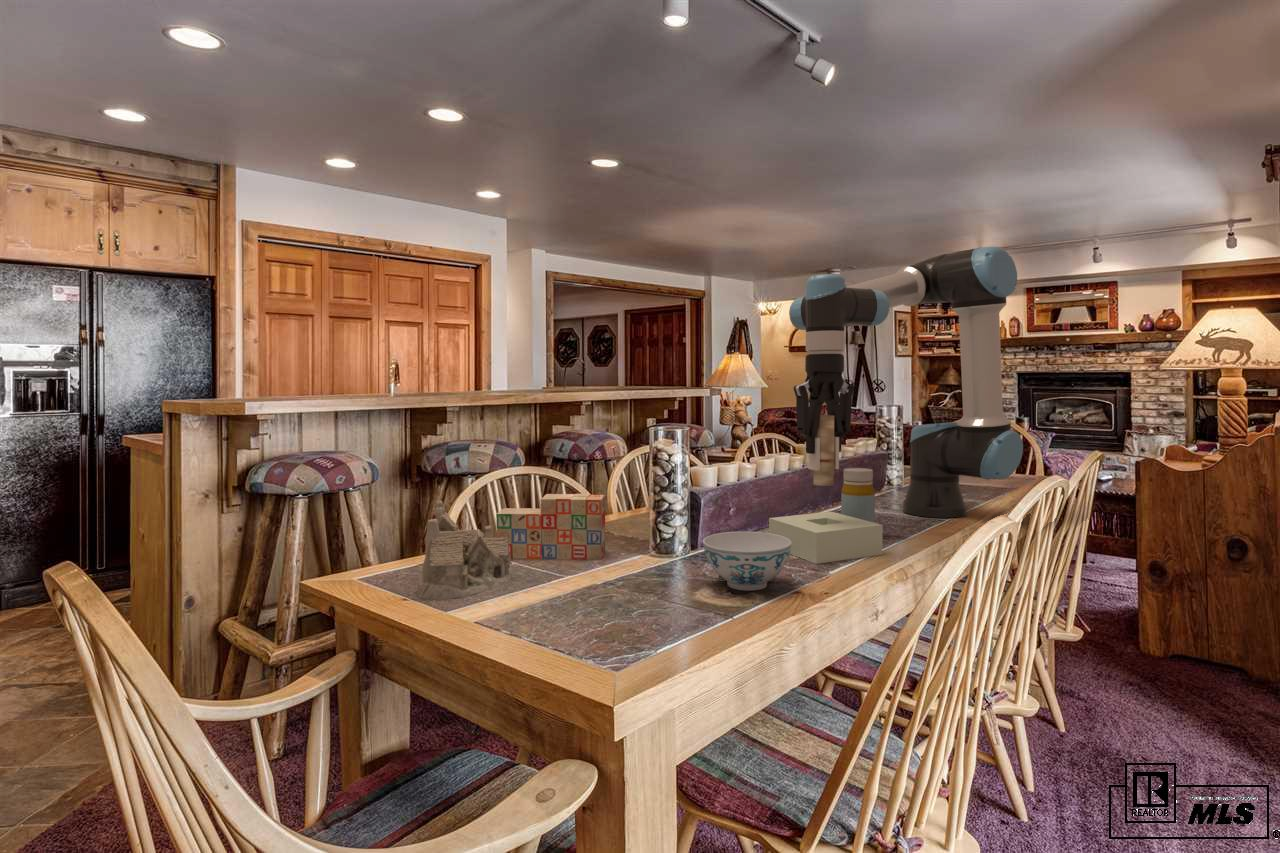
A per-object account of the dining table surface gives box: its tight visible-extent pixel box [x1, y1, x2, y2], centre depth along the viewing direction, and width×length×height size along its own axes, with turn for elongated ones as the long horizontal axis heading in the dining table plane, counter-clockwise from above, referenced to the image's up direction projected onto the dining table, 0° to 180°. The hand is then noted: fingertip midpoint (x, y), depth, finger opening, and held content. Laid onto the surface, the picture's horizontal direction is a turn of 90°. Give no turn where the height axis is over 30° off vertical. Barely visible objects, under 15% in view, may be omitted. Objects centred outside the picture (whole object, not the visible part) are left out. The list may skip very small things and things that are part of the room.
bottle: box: [840, 467, 876, 523], centre depth 158 cm, size 7×7×15 cm
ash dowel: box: [812, 414, 835, 487], centre depth 146 cm, size 4×4×14 cm
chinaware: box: [702, 531, 792, 592], centre depth 123 cm, size 15×15×8 cm
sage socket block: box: [768, 511, 884, 565], centre depth 147 cm, size 16×16×6 cm
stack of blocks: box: [495, 493, 606, 560], centre depth 146 cm, size 21×6×12 cm, turn 86°
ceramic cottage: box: [416, 500, 513, 601], centre depth 126 cm, size 16×16×15 cm
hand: (823, 468), depth 146 cm, fingers closed on ash dowel, 4 cm apart
